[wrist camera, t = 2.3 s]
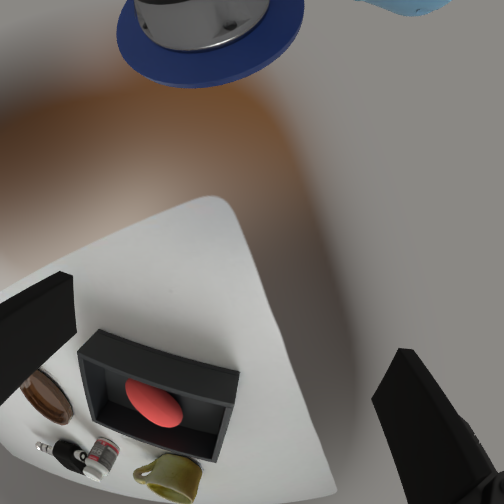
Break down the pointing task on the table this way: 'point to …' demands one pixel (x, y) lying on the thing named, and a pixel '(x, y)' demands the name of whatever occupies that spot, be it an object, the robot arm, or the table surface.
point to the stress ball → (154, 403)
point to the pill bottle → (100, 459)
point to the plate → (47, 398)
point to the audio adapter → (66, 455)
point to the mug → (171, 478)
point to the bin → (163, 377)
